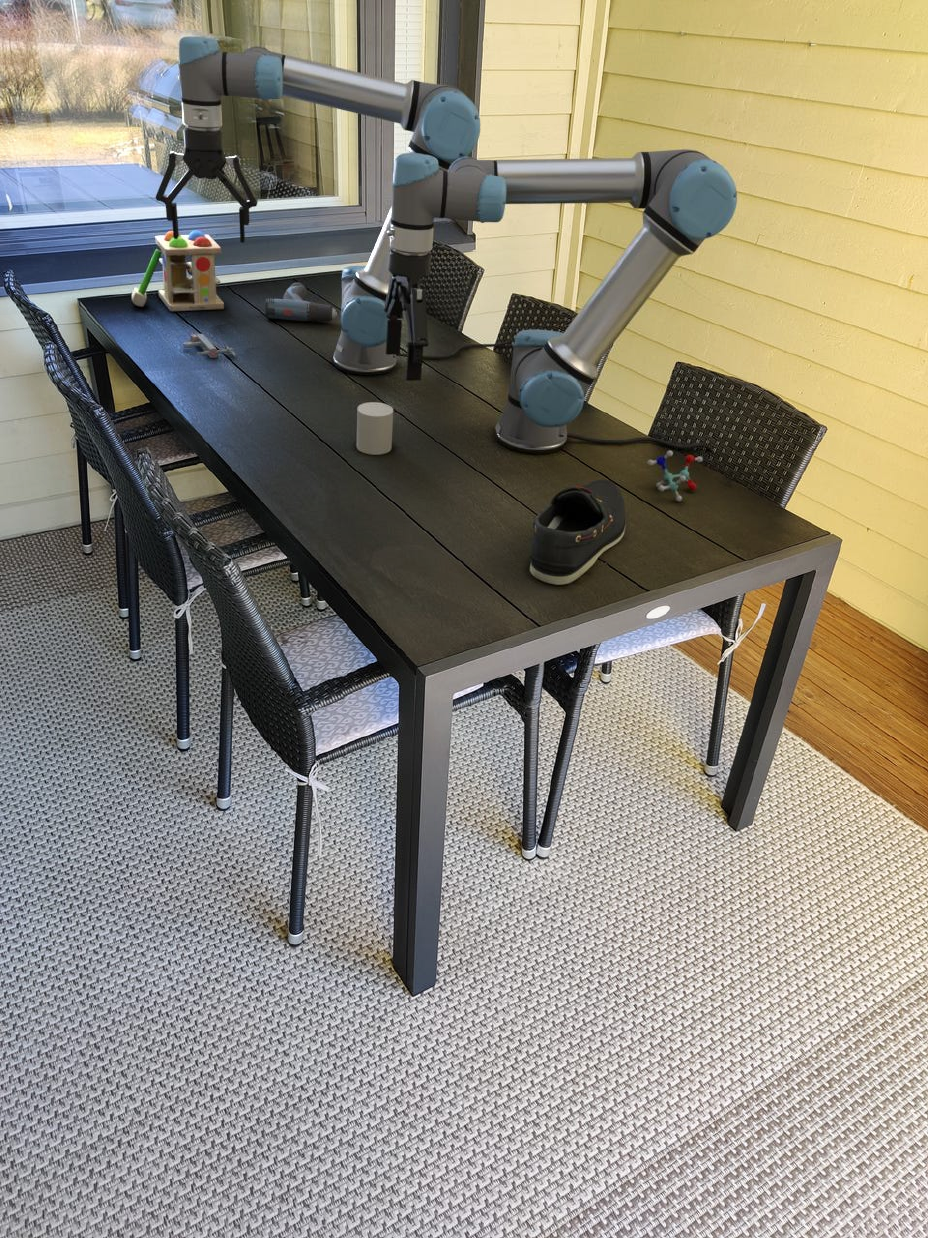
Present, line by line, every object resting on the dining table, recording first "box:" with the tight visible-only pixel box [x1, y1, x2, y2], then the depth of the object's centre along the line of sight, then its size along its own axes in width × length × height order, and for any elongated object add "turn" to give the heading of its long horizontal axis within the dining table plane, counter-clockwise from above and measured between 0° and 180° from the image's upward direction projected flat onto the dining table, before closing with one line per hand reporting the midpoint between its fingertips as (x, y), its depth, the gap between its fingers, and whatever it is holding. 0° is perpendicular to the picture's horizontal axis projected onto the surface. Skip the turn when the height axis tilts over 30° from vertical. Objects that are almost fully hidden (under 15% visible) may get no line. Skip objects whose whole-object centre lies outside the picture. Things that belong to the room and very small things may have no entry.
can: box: [356, 401, 394, 456], centre depth 198 cm, size 7×7×8 cm
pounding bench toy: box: [131, 230, 225, 312], centre depth 259 cm, size 23×14×18 cm, turn 116°
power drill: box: [264, 282, 338, 322], centre depth 265 cm, size 5×19×20 cm
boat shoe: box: [529, 479, 627, 586], centre depth 172 cm, size 13×33×10 cm, turn 147°
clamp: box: [182, 333, 239, 359], centre depth 235 cm, size 15×2×10 cm
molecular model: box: [646, 450, 704, 503], centre depth 192 cm, size 12×10×10 cm
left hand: (209, 239), depth 206 cm, fingers open, 13 cm apart
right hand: (402, 366), depth 185 cm, fingers open, 13 cm apart
